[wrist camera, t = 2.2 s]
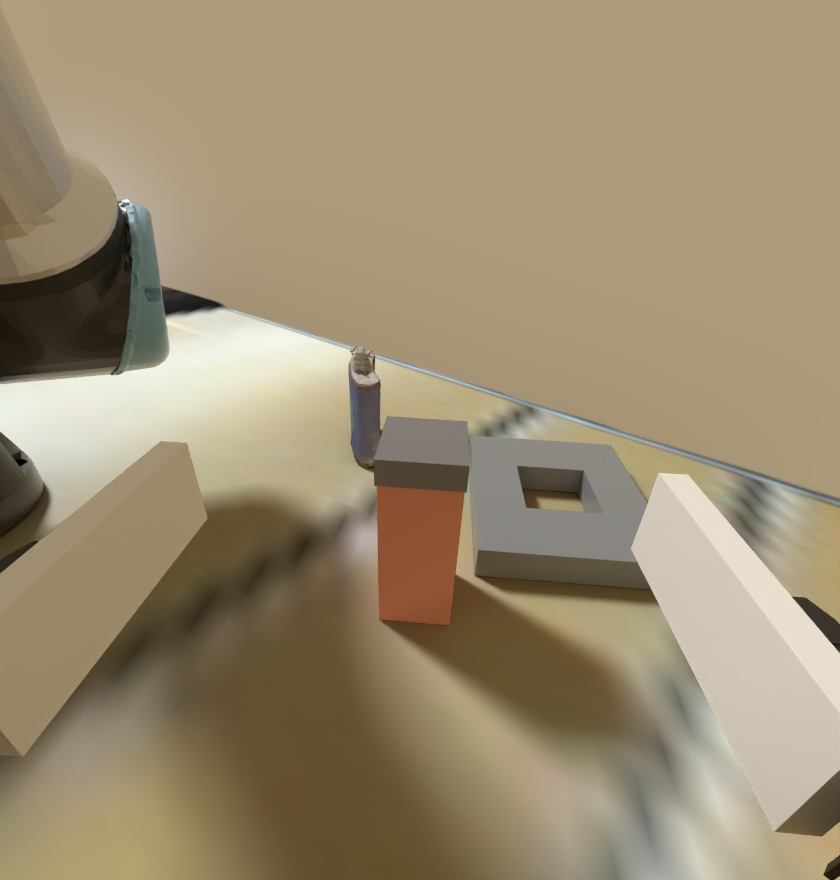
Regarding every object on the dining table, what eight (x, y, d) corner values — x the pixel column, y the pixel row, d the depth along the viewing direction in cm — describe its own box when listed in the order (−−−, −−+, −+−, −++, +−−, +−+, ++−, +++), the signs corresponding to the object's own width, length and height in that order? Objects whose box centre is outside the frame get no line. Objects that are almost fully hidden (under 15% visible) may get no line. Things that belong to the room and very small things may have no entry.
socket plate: (474, 575, 31) (478, 550, 29) (468, 456, 44) (470, 435, 43) (674, 591, 30) (686, 566, 29) (604, 465, 44) (611, 445, 43)
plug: (377, 620, 27) (373, 459, 21) (387, 564, 31) (386, 416, 25) (451, 627, 27) (469, 466, 21) (451, 570, 31) (467, 421, 25)
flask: (382, 468, 42) (381, 364, 37) (352, 470, 42) (346, 365, 36) (375, 424, 50) (373, 333, 45) (349, 425, 49) (344, 333, 44)
